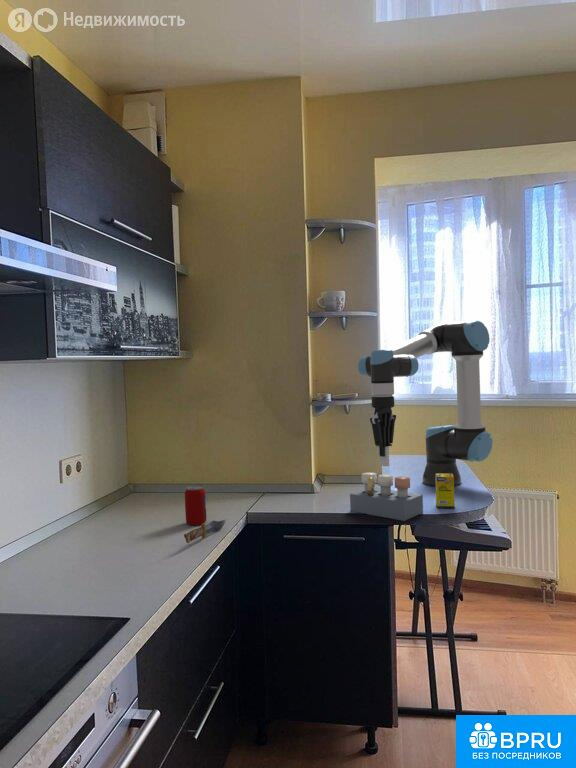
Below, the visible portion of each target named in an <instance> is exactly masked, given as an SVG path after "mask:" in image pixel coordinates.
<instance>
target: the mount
mask: <svg viewBox="0 0 576 768" xmlns="http://www.w3.org/2000/svg"><path fill="white" fill-rule="evenodd" d="M374 488H375V493H374V496H368V493H365V488H362V489H360V490H357V491H354V492H351V493H349V502H350V504H349V505H350V512H353V513H358V512H361V513H360V514H364V513H366V514H365V515H369V516H376V517H382V518H386V519H387V518H388V519H393V520H397V521H402V522H405V521H407V520H409V519H410V520H411V519H412V518H414V517H416V516H418V515H421V514H422V513H423V512H424V501H423V499H424V496H423V494H421V493H413V492H408V498H406V499H402V498H398V496H397V490H393V489H391V495H390V496H382V495H381V487H380V488H379V487H374Z"/></svg>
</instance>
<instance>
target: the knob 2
mask: <svg viewBox="0 0 576 768" xmlns="http://www.w3.org/2000/svg"><path fill="white" fill-rule="evenodd" d="M377 485H378V486H379V487H380V489H381V495H382V496H390V495H391V490H392V488H391V487H393V485H394V475H393V474H384V473H383V474H379V475H377Z"/></svg>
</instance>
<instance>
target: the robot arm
mask: <svg viewBox="0 0 576 768" xmlns="http://www.w3.org/2000/svg"><path fill="white" fill-rule="evenodd" d="M489 344H490V333H489V330H488V328H487V326H486V325H485V324H484V323H483V322H482V321H480V320H475V319H474V320H471V319H468V320H459V321H451V322H450V321H447V322H442V323H439V324H437V325H434V326H432V327H430V328H427V329H424V330H423V331H421V332H419V333H418V335H417V336H415V337H413V338H411V339H408V340H406V341H404V342H402V343H400V344H397V345H394V346H392V347H390V348H388V349H387V348H386V349H374V350H371V352H370V355H365V356H362V357H361V358H359V359H358V363H357V369H358V372H359V374H360V375H361V376H363V377H369V378H370V380H371V382H370V384H371V387H370V388H371V396H372V397H371V408H373V409H374V412H373V415H374V416H373V417H370V418H369V422H370V424H371V428H372V434H373V440H374V445H375V446H376V447H378V448H379V466H381V467H390V447H392V446H393V442H394V435H395V434H394V433H395V423H396V420H397V415H396V414H393V409H392V408H394V407H395V397H394V394H395V383H394V380H395V378H403V377H407V378H409V377H411V376H412V377H413V376H414V375H416V374H417V373H418V370H419V360H418V358H419V357H422V356H424V355H429V356H430V355H432V354H435V353H443V352H446V353H447V352H450V353H451V358H452V359H454V360H455V369H456V370H455V371H456V372H455V373H456V374H455V375H456V376H455V377H456V401H457V402H456V403H457V404H456V406H457V423H455V424H453V425H452V424H448V425H440V426H439V425H438V426H431V427H428V428H427V429H426V431H425V450H426V451H425V454H426V455H425V457H426V464H425V467H424V471H423V475H422V483H423V484H425V485H427V486H428V485H429V486H433V487H436V479H435V474H453V476H454V486H457V485H460V484H461V483H462V477H461V474H460V470H459V468H458V466H457V460H459V461H460V460H461V461H469V462H472V463H473V462H479V463H480V462H483V461H485V460H486V459H487V458H489V455H490V454H491V452H492V448H493V438H492V435H491V433H490V432H488V431H486V425H485V424H484V423H483V422H482V413H481V412H482V409H481V408H482V406H481V404H482V403H481V376H480V374H481V372H480V360H481V358H483V356H484V351H485V350H487V349H488V347H489Z"/></svg>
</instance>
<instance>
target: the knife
mask: <svg viewBox="0 0 576 768" xmlns="http://www.w3.org/2000/svg"><path fill="white" fill-rule="evenodd" d="M226 521H227V518H225V519H222V520H219V521H218V520H212V521H210V522H207V523H206V524H205V523H202V524H201V525H200V527H196V528H194V529H192V530H191V531H189V532H187V533H184V535H183V537H184V539H185V543H187V544H190V543H191V542H193V541H195V540H197V539H198V538H200V537H201V539H202V540H204V539H205V538H206V536H207V535H209V534H211V533H217V532H220V531H221V530H222V529H223V527H224V526H225V523H226Z"/></svg>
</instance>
